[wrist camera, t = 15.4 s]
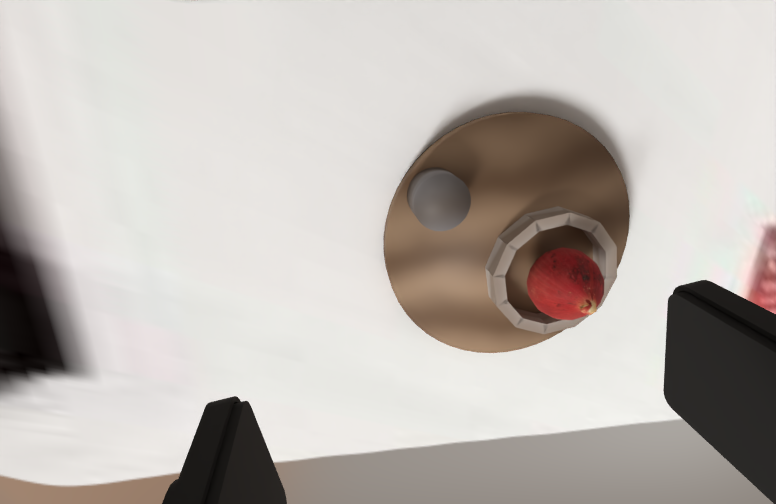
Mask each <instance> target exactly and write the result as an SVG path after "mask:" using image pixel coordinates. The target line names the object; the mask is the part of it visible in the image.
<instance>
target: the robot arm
mask: <svg viewBox="0 0 776 504" xmlns="http://www.w3.org/2000/svg"><path fill="white" fill-rule="evenodd" d="M192 1H196V0H192ZM664 396H665V399H666V401H667V403H668V404H669V406H670V407H671V408H672V409H673V410H674V411H675V412H676V413H677V414H678V415H679V416H680V417H681V418H683V419H684V420H685V421H686V422H687V423H688V424H689V425H690V426H691V427H692V428H693V429H694V430H695V431H697V432H698V433H699V434H700V435H701V436H702V437H703V438H704V439H705V440H706V441H707V442H708V443H709V444H711V445H712V446H713V447H714V448H715V449H716V450H717V451H718V452H719V453H720V454H721V455H722V456H723V457H724V458H726V459H727V460H728V461H729V462H730V463H731V464H732V465H733V466H734V467H735V468H736V469H737V470H738V471H740V472H741V473H742V474H743V475H744V476H745V477H746V478H747V479H748V480H749V481H750V482H751V483H753V485H755V486H756V487H757V488H758V489H759V490H760V491H761V492H762V493H763V494H764V495H765V496H766V497H767V498H769V499H770V500H771V501H772V502H773V503H774V504H776V314H774V313H772V312H770V311H768V310H766V309H764V308H762V307H760V306H758V305H756V304H754V303H752V302H750V301H748V300H746V299H744V298H742V297H740V296H738V295H736V294H734V293H732V292H730V291H728V290H726V289H724V288H722V287H720V286H718V285H717V284H715V283H713V282H710V281H707V280H701V281H697V282H693V283H689V284H685V285H681V286H678V287H676V288H675V290H674V291H673V295H671V296H670V297H669V299H668V311H667V332H666V352H665V373H664ZM162 504H287V502H286V496H285V491H284V488H283V486H282V483H281V481H280V478H279V476H278V473H277V471H276V468H275V466H274V463H273V461H272V458H271V456H270V453H269V451H268V448H267V446H266V443H265V441H264V438H263V436H262V433H261V431H260V428H259V426H258V423H257V421H256V418H255V416H254V413H253V411H252V408H251V406H250V404H249V402H248V401H243V402H241V401H240V399H239V398H238V397H236V396H234V397H230V398H226V399H222V400H218V401H214V402H210V403H208V404H207V405H206V407H205V409H204V412H203V415H202V417H201V420H200V423H199V425H198V428H197V431H196V433H195V436H194V439H193V441H192V444H191V447H190V449H189V452H188V455H187V457H186V460H185V463H184V465H183V468H182V471H181V473H180V477H179V479H177V480H175V481H174V482H173V483H172V484H171V485H170V487H169V489H168V491H167V493H166V495H165V498H164V500H163V503H162Z"/></svg>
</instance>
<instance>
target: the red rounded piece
mask: <svg viewBox="0 0 776 504" xmlns="http://www.w3.org/2000/svg"><path fill="white" fill-rule="evenodd" d="M527 289H528V295H529V297H530V298H531V300H532V302H533V303H534V304H535V306H536V307H537V309H538V310H540V311H541V312H543V313H545V314H547V315H549V316H550V317H552V318H556V319H562V320H574V319H578V318H581V317H585V316H586V315H591V314H593V313H594V312H596V310H597V307H598V305H599V304H600V303H601V300H602V298H603V295H604V278H603V276H602V273H601V271H600V269H599V267H598V265H597V263H595V262H594V261H593V260H592V259H591V258H590V257H588V256H587V255H586V254H584V253H583V252H582V251H579V250H577V249H571V248H564V247H561V248H557V249H554V250H551V251H548V252H545V253H544V254H543V255H542V256H540V257H539V258H538V259H537V260H536V261H535V263H534V264H533V265H532V267H531V268H530V271H529V274H528V278H527Z"/></svg>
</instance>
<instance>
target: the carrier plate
mask: <svg viewBox="0 0 776 504" xmlns="http://www.w3.org/2000/svg"><path fill="white" fill-rule="evenodd" d="M629 217H630V216H629V200H628V195H627V190H626V186H625V183H624V180H623V177H622V174H621V172H620V170H619V168H618V166H617V164H616V162H615V161H614V159H613V157H612V156H611V155H610V153H609V152H608V151H607V150H606V148H605V147H604V146H603V145H602V144H601V143H600V142H599V141H598V140H597V139H596V138H595V137H594V136H592V135H591V134H590V133H588V132H587V131H585V130H584V129H582V128H581V127H579V126H577V125H575V124H573V123H571V122H569V121H567V120H564V119H560V118H557V117H554V116H550V115H543V114H536V113H528V112H506V113H500V114H493V115H489V116H485V117H482V118H478V119H475V120H473V121H470V122H468V123H466V124H463V125H461V126H459V127H457V128H455V129H454V130H452V131H450V132H449V133H447V134H446V135H444V136H442V137H441V138H440V139H439V140H437V141H436V142H435V143H434V144H432V145H431V146H430V147H429V148H428V149H427V150H426V151H425V152H424V153H423V154H422V155H421V156H420V157H419V158H418V159H417V160H416V161H415V162H414V164H413V165H412V166H411V168H410V169H409V170H408V172H407V173H406V174H405V176H404V178H403V179H402V181H401V183H400V185H399V186H398V188H397V190H396V192H395V195H394V197H393V200H392V202H391V204H390V208H389V211H388V215H387V219H386V224H385V231H384V257H385V264H386V269H387V273H388V276H389V279H390V283H391V286H392V289H393V291H394V293H395V295H396V297H397V299H398V302H399V303H400V305H401V306H402V308H403V309H404V311H405V312H406V314H407V315H408V316H409V317H410V318H411V319H412V321H413V322H414V323H415V324H416V325H417V326H419V327H420V328H421V329H422V330H423V331H424V332H426V333H427V334H429V335H430V336H432V337H433V338H435V339H437V340H438V341H440V342H443V343H445V344H447V345H449V346H452V347H455V348H459V349H462V350H467V351H473V352H482V353H497V352H508V351H513V350H518V349H523V348H526V347H529V346H532V345H535V344H538V343H540V342H542V341H545V340H547V339H549V338H551V337H553V336H555V335H556V334H558V333H560V332H562V331H563V330H565V329H567V328H571V327H575V326H576V325H578V324H579V323H580V322H581V321H583V320H584V319H585V318H587V317H588V316H589V315H586V316H585V317H581V318H578V319H574V320H562V319H556V318H552V317H550V316H549V315H547V314H545V313H543V312H541V311H540V310H538V309H537V307H536V306H535V304H534V303H533V302H532V300H531V298H530V297H529V295H528V289H527V278H528V274H529V271H530V268H531V267H532V265H533V264H534V263H535V261H536V260H537V259H538V258H539V257H540V256H542V255H543V254H544V253H545V252H548V251H551V250H554V249H557V248H561V247H564V248H571V249H577V250H579V251H582V252H583V253H584V254H586V255H587V256H588V257H590V258H591V259H592V260H593V261H594V262H595V263H597V265H598V267H599V269H600V271H601V273H602V276H603V278H604V295H603V298H602V300H601V303H600V304H599V305H598V307H597V309H598V308H599V307H601V306H602V304H603V302H604V300H605V298H606V296H607V294H608V293H609V291H610V289H611V287H612V285H613V283H614V281H615V279H616V278H617V268H618V266H619V264H620V262H621V259H622V256H623V252H624V249H625V246H626V241H627V236H628V231H629Z"/></svg>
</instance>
